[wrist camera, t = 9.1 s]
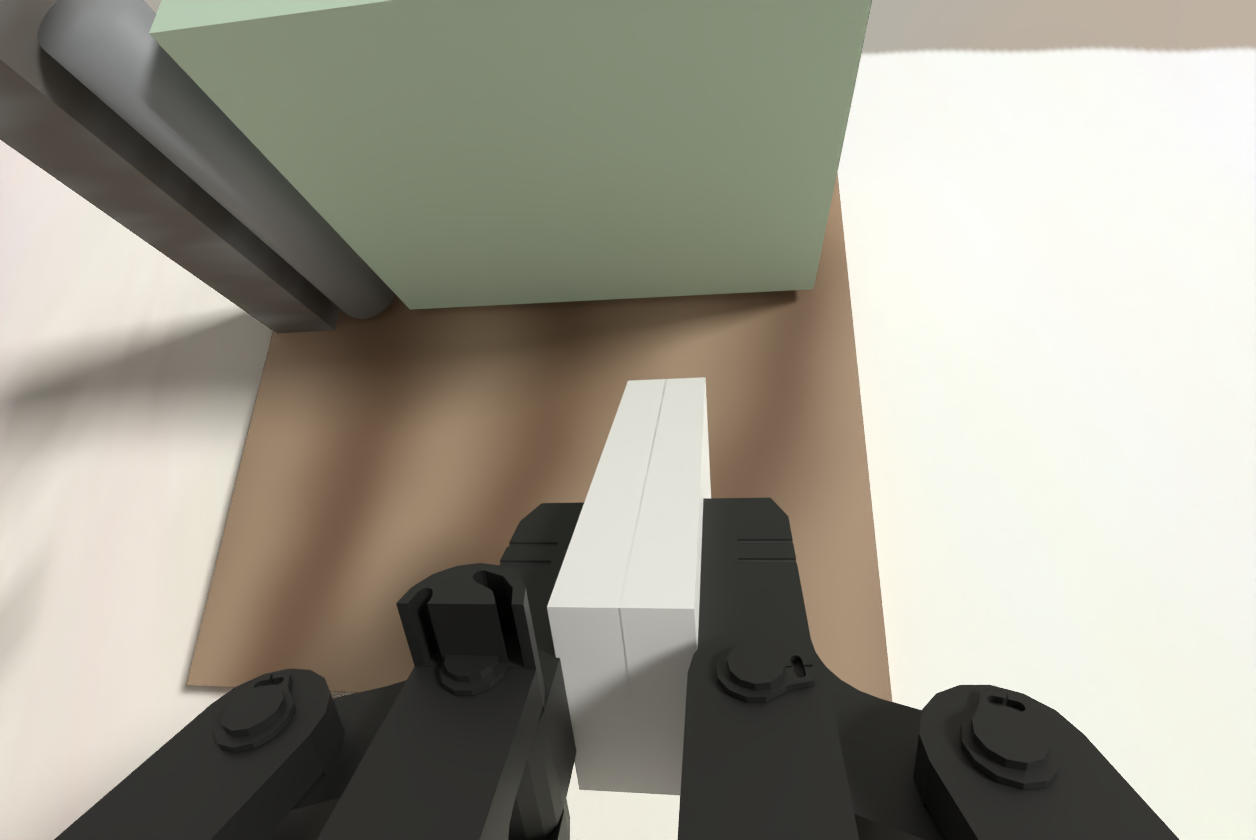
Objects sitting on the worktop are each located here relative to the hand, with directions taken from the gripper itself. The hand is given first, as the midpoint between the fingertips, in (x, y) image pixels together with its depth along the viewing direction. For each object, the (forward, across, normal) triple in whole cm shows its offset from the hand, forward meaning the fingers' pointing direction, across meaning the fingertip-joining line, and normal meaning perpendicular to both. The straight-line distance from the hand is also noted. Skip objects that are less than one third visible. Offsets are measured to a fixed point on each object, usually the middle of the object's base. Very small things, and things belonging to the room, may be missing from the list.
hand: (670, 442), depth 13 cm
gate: (+10, -4, +1) cm, 11 cm away
